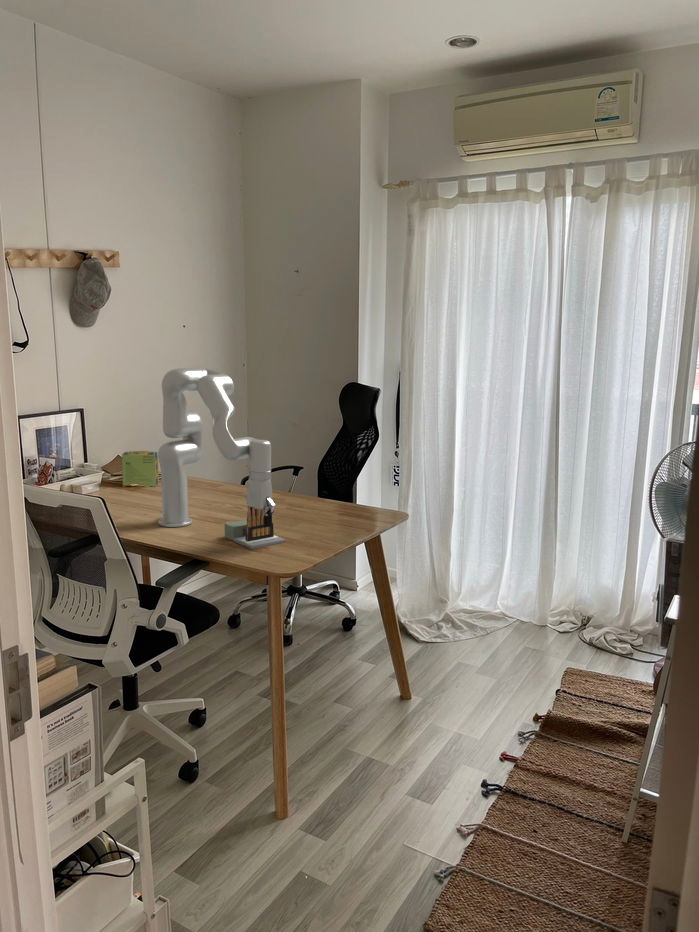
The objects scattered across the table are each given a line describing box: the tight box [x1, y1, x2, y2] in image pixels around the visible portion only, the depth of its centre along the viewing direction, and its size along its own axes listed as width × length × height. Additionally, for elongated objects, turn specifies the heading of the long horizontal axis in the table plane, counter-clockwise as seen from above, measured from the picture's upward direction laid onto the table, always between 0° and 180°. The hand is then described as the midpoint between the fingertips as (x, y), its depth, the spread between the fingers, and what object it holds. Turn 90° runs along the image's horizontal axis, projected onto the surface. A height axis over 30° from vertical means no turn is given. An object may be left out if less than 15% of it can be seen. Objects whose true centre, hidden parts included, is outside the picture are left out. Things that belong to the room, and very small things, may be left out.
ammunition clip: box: [245, 507, 275, 542], centre depth 259 cm, size 11×2×12 cm, turn 129°
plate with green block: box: [224, 519, 286, 550], centre depth 262 cm, size 18×14×5 cm
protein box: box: [121, 450, 160, 487], centre depth 346 cm, size 10×15×16 cm
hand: (260, 523), depth 259 cm, fingers open, 9 cm apart
